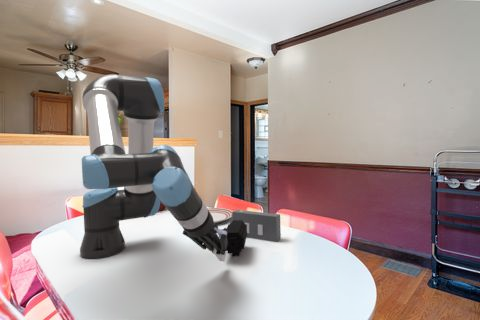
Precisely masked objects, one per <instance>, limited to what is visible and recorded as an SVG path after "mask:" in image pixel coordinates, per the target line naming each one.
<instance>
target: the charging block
mask: <svg viewBox="0 0 480 320" xmlns="http://www.w3.org/2000/svg"><path fill="white" fill-rule="evenodd" d="M232 211H233V212H232V217H231V218H232V220H243V222H245V224H247V237H246V238H249V239H257V240H261V241H267V242H268V241H269V242H275V243H277V242H279V241H280V240H281V238H282V237H281V214H278V213H270V212H261V211H253V210H252V211H250V210H241V209H236V210H232Z"/></svg>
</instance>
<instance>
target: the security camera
mask: <svg viewBox="0 0 480 320" xmlns="http://www.w3.org/2000/svg"><path fill="white" fill-rule="evenodd" d="M226 228H227V229H228V232H227V240H228V245H227V249H226V251H225V252H226V253H227V254H231V256H232V257H240V253H241V252H242V251H243V250H245V246H246V240H247V238H248V237H247V224H245V222H243V220H232V221H230V223H229V224H228V225H227V227H226Z"/></svg>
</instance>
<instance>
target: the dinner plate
mask: <svg viewBox="0 0 480 320" xmlns="http://www.w3.org/2000/svg"><path fill="white" fill-rule="evenodd" d="M207 209H208V210H209V212H210V214H211V215H212V217H213V221H214V224H215V225H217V224H219V223H222V222H224V221H227V220H229V219H231V218H232V212H233V211H234V210H231V209H228V208H224V207H223V208H222V207H207Z"/></svg>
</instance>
